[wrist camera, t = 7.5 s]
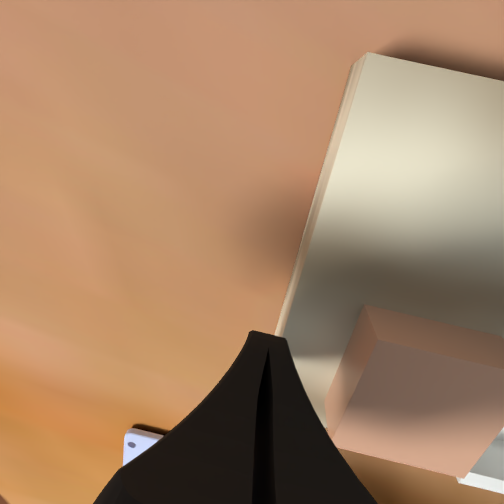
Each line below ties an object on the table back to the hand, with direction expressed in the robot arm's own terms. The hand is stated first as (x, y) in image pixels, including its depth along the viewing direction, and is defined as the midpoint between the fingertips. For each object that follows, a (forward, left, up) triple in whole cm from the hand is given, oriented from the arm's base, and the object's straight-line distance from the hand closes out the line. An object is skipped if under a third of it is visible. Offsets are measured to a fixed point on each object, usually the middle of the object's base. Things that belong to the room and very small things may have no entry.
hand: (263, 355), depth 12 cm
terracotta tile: (0, -6, -1) cm, 6 cm away
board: (+3, -5, -3) cm, 7 cm away
